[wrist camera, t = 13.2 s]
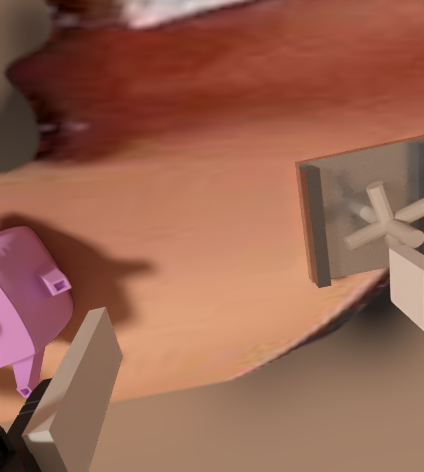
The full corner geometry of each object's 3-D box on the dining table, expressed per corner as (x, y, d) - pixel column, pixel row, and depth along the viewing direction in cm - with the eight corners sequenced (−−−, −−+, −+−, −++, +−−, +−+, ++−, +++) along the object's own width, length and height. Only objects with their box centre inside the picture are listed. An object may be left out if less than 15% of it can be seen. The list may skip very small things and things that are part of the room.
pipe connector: (316, 196, 43) (351, 219, 33) (392, 157, 42) (451, 170, 32) (344, 262, 46) (383, 300, 36) (416, 227, 45) (476, 257, 35)
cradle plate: (295, 162, 43) (305, 166, 39) (423, 135, 42) (446, 136, 39) (309, 277, 48) (319, 291, 44) (423, 253, 48) (443, 265, 44)
